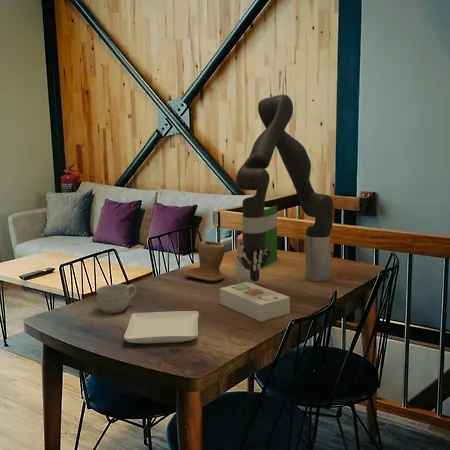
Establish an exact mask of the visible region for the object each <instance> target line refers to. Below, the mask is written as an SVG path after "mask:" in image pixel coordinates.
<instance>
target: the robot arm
mask: <svg viewBox="0 0 450 450" xmlns="http://www.w3.org/2000/svg"><path fill="white" fill-rule="evenodd" d="M257 111H258V115H259V118H260V120H261V122H262V124H263V125H264V127H265V129H264V130H263V131H262V133H260V134H259V136H258V137H257V138H256V140H255V141H254V143H253V145H252V149H251V152H250V154H249V156H248V157H247V158H246V160H245V161H244V162H243V164H242V165H241V166H240V168H239V169H238V171H237V173H236V177H235V183H236V185H237V187H238V189H240V190H242V191H256V192H255V195H254V196H249V197H246V198H244V199H243V200H242V221H241V226H242V229H241V231H242V232H241V233H242V238H243V245H244V248H243V253H242V255H241V256H238V257H237V256H236V260H237V259H238V260H239V261H240V263H241V264H242V265H243V266H244V268H245V269H248V270H250V279H251V280H252V281H254V282H256V281H257V282H259V280H260V270H261V269H260V268H261V267H263V268H265V267H266V266H265V264H266V262H267V260H268V258H269V256H270V254H271V251H268V250H266V249H265V245H264V244H265V243H266V234H265V217H264V207H265V203H266V202H265V201H266V196H267V192H268V188H269V184H270V179H271V178H270V174H269V172H268V171H267V168H269V166H270V163H271V161H272V159H273V155H274V152H275V149H277V151H278V154H279V156H280V158H281V160H282V163H283V165H284V167H285V169H286V172H287V173H288V175H289V178H290V180H291V183H292V185H293V187H294V190H295V192H296V195H297V198H298V201H299V204H300V207H301V210H302V211H303V214H305V215H306V216H308V217H310V218H314V224H313V225H310V226H307V227H306V230H305V279H306V280H308V281H311V282H325V281H329V280H330V279H331V278H332V265H333V264H332V261H333V260H332V257H333V256H332V253H331V230H332V229H333V221H334V209H335V208H334V206H335V205H334V201H333V199H332V197H331V196H330V195H328V194H323V193H316V192H315V190H314V188H313V186H312V183H311V179H310V177H311V173H312V171H311V170H312V162H311V159H310V157H309V154H308V153H307V152H308V151H307V150H306V148H305V146H304V145H303V144H302V143H301V142H299V141H298V139H295V138H294V137H293V136H292V135H290V134H289V133H288V132H287V131H286V127H287V126H288V125H289V122H290V120H291V119H292V117H293V113H294V104H293V101H292V99H291V98H290V96H289V95H287V94H277V95H273V96H270V97H266V98H264V99H261V100H260V101H259V102H258V104H257ZM262 261H263V262H262ZM264 266H265V267H264Z"/></svg>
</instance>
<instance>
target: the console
mask: <svg viewBox="0 0 450 450" xmlns="http://www.w3.org/2000/svg"><path fill="white" fill-rule="evenodd" d="M240 284H245V285H247V289H246V290H242V291H238V290H236V289H235V288H234V286H235V285H237V283H236V284H233V285H227V286H223V287H220V288H219V303H220V305H223V306H225V307H226V308H229V309H231V310H234V311H236V312H238V313H240V314H243V315H244V316H248V317H250V318H252V319H253V320H256V321H259V322H261V323H262V322H265V321H269V320H272V319H275V318H278V317H282V316H286V315H288V314H291V297H290V296H288V295H285V294H283V293H279V292H276V291H275V290H272V289H268V288H265V287H263V286H260V285H258V284H257V285H255V284H252V283H249V282H244V283H240ZM249 289H259V290H260V291H261V294H259V295H255V296H251V295H249V294H247V290H249ZM263 294H272V295H274V300H271V301H264V300H261V295H263Z"/></svg>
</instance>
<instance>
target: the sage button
mask: <svg viewBox="0 0 450 450" xmlns="http://www.w3.org/2000/svg"><path fill="white" fill-rule="evenodd" d="M236 284H237V283H236ZM236 284H234V285H235V286H234V288H235V289H236V290H238V291H242V290H246V289H247V285H245V284H237V285H236Z"/></svg>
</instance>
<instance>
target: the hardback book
mask: <svg viewBox="0 0 450 450" xmlns="http://www.w3.org/2000/svg"><path fill="white" fill-rule="evenodd" d="M264 217H265V234H266V243H265V244H264V245H265V249H266V250H268V251H271V254H270V256H269V258H268V260H267V262H266V264H265V266H264V267H261V268H260V270H261V269H264V268H265V267H267V266H269V265H271V264H272V263H274V262H276V261H277V260H278V205H273V206H271V207H266V206H264ZM262 262H263V261H262Z"/></svg>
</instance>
